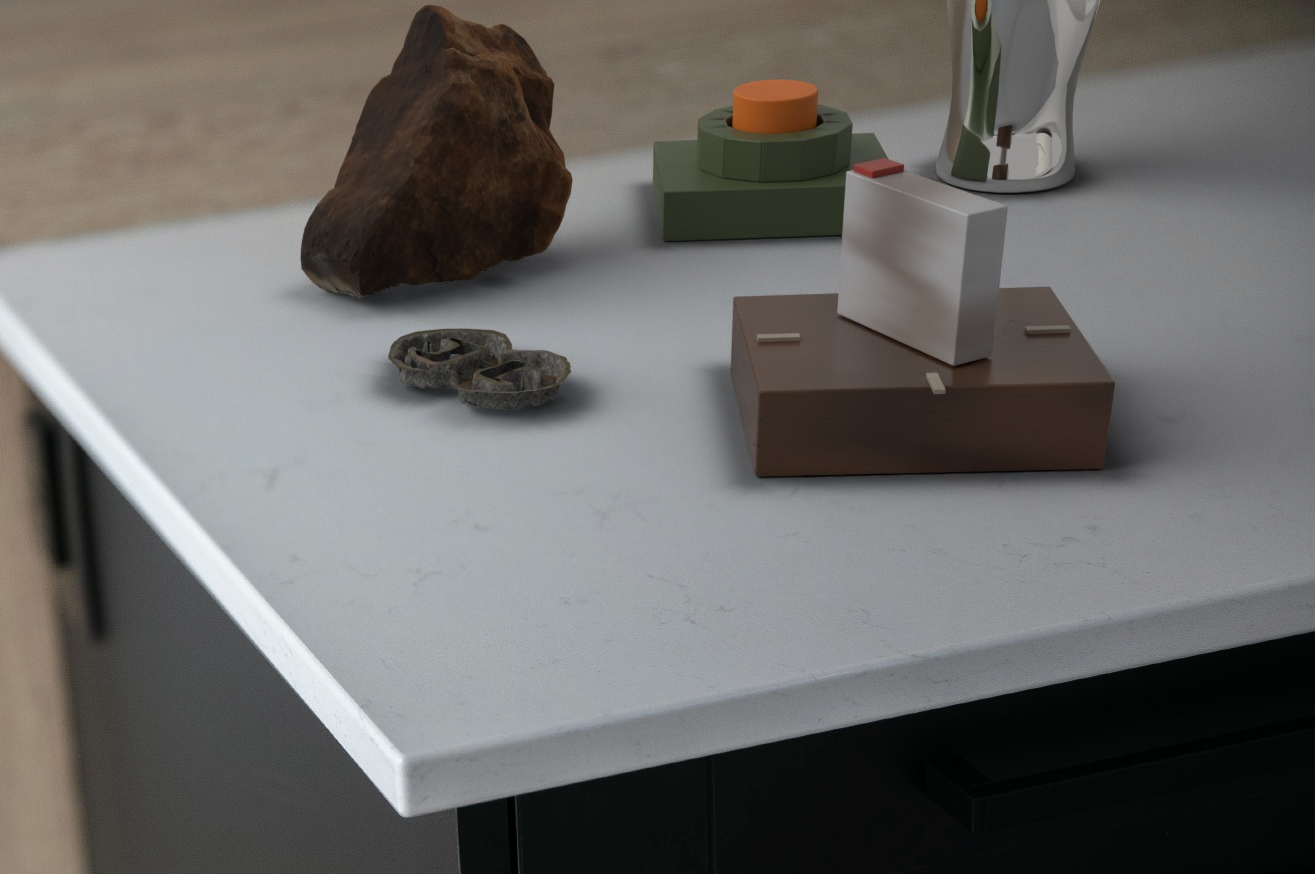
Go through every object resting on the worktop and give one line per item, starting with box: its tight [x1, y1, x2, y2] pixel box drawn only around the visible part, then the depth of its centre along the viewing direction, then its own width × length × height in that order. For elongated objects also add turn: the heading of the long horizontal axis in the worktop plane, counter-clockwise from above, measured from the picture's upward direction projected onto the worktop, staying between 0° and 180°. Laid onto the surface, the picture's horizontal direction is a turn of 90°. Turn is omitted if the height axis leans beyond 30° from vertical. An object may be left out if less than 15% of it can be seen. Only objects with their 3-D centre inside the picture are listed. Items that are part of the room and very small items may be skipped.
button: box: [732, 79, 819, 134], centre depth 87 cm, size 4×4×2 cm
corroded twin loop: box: [387, 327, 572, 410], centre depth 73 cm, size 5×8×1 cm, turn 38°
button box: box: [652, 104, 889, 242], centre depth 88 cm, size 10×8×4 cm
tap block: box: [730, 286, 1116, 478], centre depth 67 cm, size 11×10×3 cm
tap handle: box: [837, 158, 1009, 366], centre depth 65 cm, size 6×2×5 cm, turn 25°
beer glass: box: [935, 0, 1101, 194], centre depth 87 cm, size 7×7×15 cm
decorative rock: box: [299, 4, 573, 299], centre depth 81 cm, size 12×6×11 cm, turn 120°
